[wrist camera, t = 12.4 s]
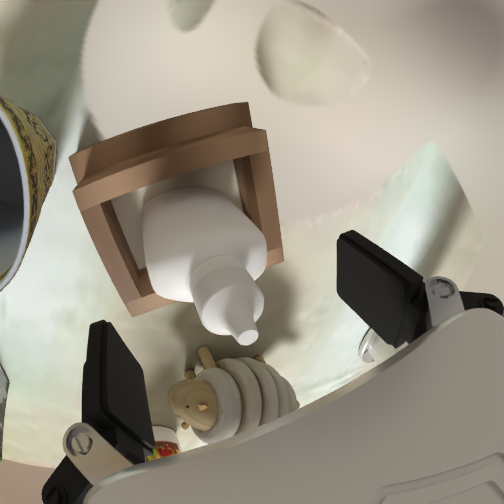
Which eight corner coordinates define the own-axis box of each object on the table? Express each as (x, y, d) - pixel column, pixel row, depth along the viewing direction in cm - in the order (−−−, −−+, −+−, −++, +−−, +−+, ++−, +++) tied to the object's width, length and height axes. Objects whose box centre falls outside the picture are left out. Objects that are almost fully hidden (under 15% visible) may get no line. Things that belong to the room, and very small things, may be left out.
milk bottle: (185, 432, 36) (230, 542, 20) (153, 448, 36) (188, 551, 20) (150, 419, 32) (191, 549, 16) (117, 436, 32) (147, 554, 15)
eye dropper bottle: (207, 249, 20) (282, 379, 11) (133, 228, 18) (145, 375, 8) (232, 194, 19) (341, 295, 10) (156, 167, 16) (189, 258, 7)
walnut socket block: (235, 102, 19) (271, 101, 14) (260, 240, 25) (293, 276, 20) (76, 151, 16) (53, 167, 11) (131, 287, 22) (134, 336, 17)
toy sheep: (174, 322, 26) (205, 422, 17) (301, 340, 35) (349, 405, 26) (147, 386, 28) (166, 470, 20) (261, 392, 37) (295, 453, 28)
